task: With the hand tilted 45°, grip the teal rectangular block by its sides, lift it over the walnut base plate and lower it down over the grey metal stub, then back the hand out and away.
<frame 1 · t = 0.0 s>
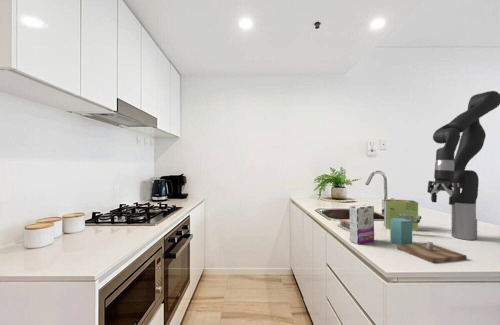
hand: (442, 203, 121), 17 cm above the worktop, tool pointing down, fingers open, 8 cm apart
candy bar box: (361, 241, 116), on the worktop
mechanical component: (409, 235, 129), on the worktop
protein box: (400, 228, 143), on the worktop
packaged product: (353, 231, 137), on the worktop
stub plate: (429, 253, 101), on the worktop
teal rectangular block: (401, 243, 114), on the worktop
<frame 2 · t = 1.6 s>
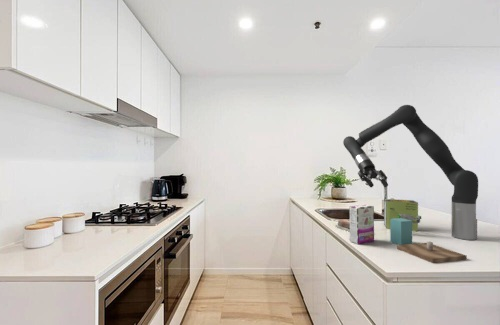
hand: (379, 186, 128), 25 cm above the worktop, tool tilted 45°, fingers open, 8 cm apart
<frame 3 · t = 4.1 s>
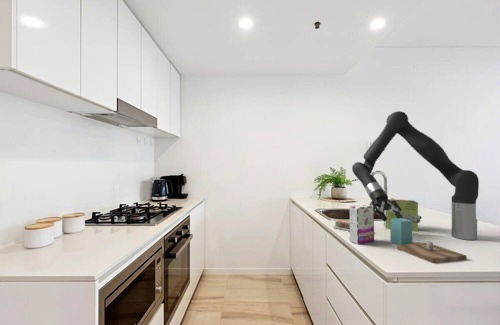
hand: (393, 219, 119), 10 cm above the worktop, tool tilted 45°, fingers open, 8 cm apart
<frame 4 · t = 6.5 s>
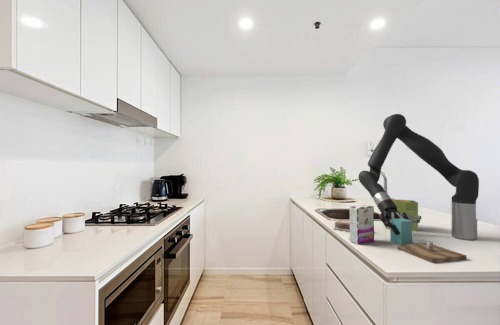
hand: (404, 233, 113), 5 cm above the worktop, tool tilted 45°, fingers closed on teal rectangular block, 6 cm apart
teal rectangular block: (401, 243, 114), on the worktop, touching gripper
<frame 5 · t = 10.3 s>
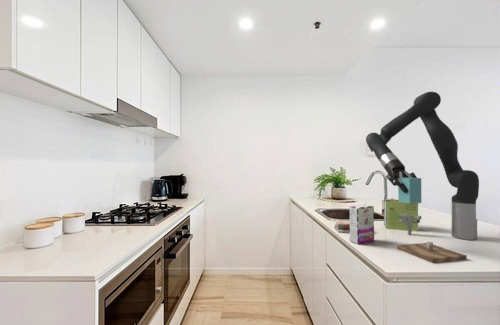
hand: (413, 191, 109), 24 cm above the worktop, tool tilted 45°, fingers closed on teal rectangular block, 6 cm apart
teal rectangular block: (409, 202, 110), point 19 cm above the worktop, touching gripper
when the fingers open (7 cm above the worktop, at t = 14.0 s): teal rectangular block stays where it is, resting on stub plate.
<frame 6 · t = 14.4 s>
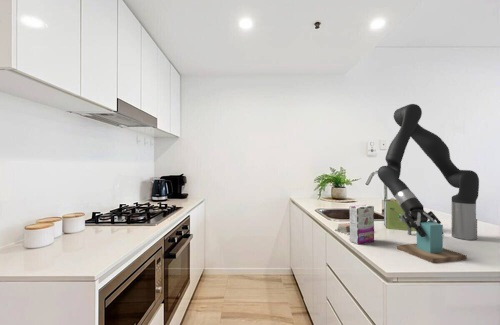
hand: (433, 235, 100), 8 cm above the worktop, tool tilted 45°, fingers open, 8 cm apart
teal rectangular block: (429, 250, 101), point 1 cm above the worktop, touching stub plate
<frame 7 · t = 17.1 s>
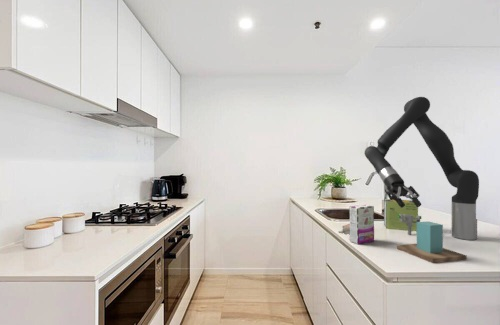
hand: (411, 206, 109), 18 cm above the worktop, tool tilted 45°, fingers open, 8 cm apart
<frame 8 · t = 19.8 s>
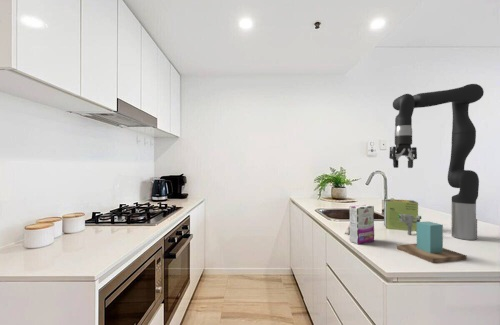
hand: (403, 167, 126), 34 cm above the worktop, tool pointing down, fingers open, 8 cm apart
at the end: teal rectangular block 0.1 cm off-centre on the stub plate, point 1.5 cm above the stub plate's base; teal rectangular block tilted 0°; the gripper is holding nothing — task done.
